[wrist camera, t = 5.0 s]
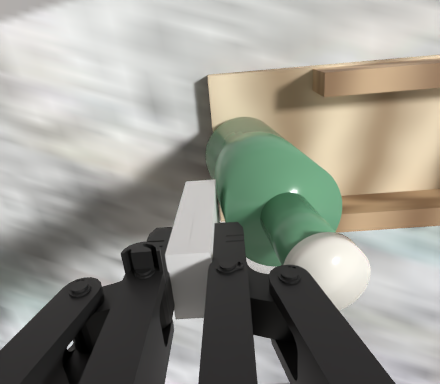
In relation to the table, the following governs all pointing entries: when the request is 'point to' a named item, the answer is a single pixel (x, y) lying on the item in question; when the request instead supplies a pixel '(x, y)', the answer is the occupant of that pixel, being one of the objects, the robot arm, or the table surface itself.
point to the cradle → (353, 131)
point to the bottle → (285, 207)
